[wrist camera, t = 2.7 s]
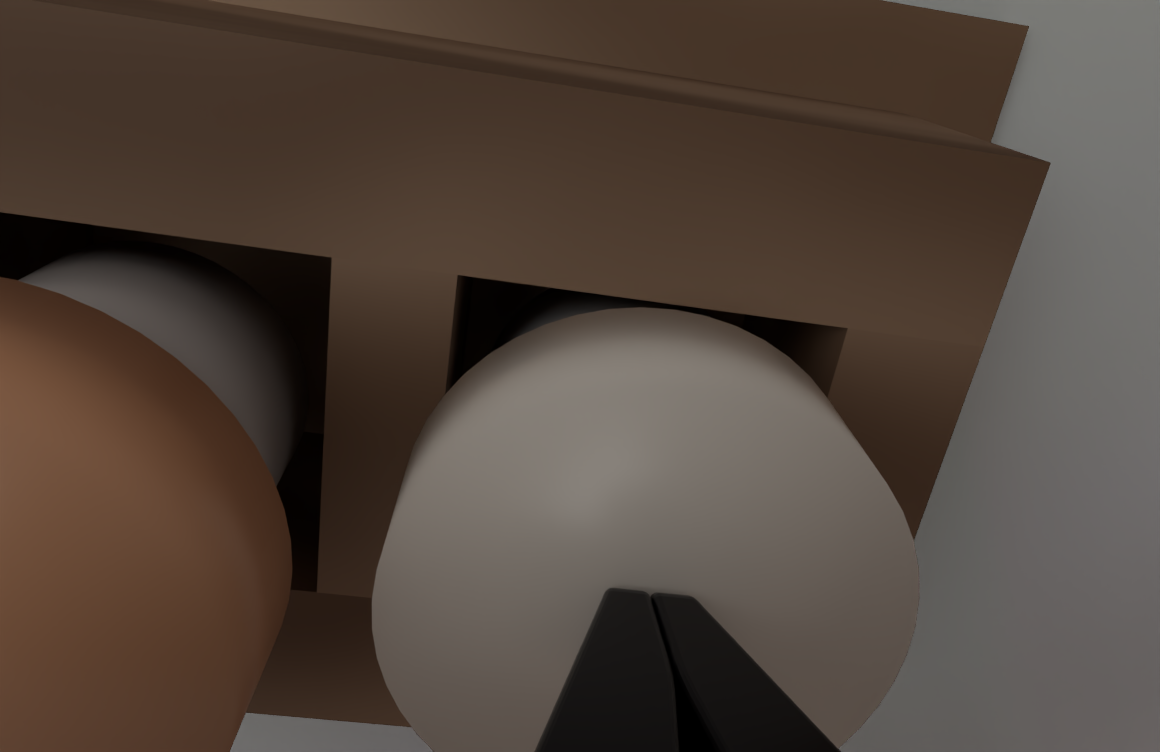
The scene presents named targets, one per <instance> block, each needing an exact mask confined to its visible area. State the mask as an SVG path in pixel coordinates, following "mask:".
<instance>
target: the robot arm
mask: <svg viewBox="0 0 1160 752" xmlns="http://www.w3.org/2000/svg"><path fill="white" fill-rule="evenodd" d="M534 752H841V751H840V750H839V749H838V748H837V747H836V746H835V745H834V744H833V743H832V742H831V741H830V740H829V739H828V737H827V736H826V735H825V734H824V733H823V732H822V731H821V730H820V729H819V728H818V727H817V726H816V725H815V724H814V723H813V722H812V721H811V720H810V718H809V717H808V716H807V715H806V714H805V713H804V712H803V711H802V710H801V709H800V708H799V707H798V706H797V705H796V704H795V703H794V702H793V701H792V699H791V698H790V697H789V696H788V695H787V694H786V693H785V692H784V691H783V690H782V689H781V688H780V687H779V686H778V685H777V684H776V683H775V682H774V681H773V679H772V678H771V677H770V676H769V675H768V674H767V673H766V672H765V671H764V670H763V669H762V668H761V667H760V666H759V665H758V664H757V663H756V662H755V660H754V659H753V658H752V657H751V656H750V655H749V654H748V653H747V652H746V651H745V650H744V649H743V648H742V647H741V646H740V645H739V644H738V643H737V641H736V640H735V639H734V638H733V637H732V636H731V635H730V634H729V633H728V632H727V631H726V630H725V629H724V628H723V627H722V626H721V625H720V624H719V622H718V621H717V620H716V619H715V618H714V617H713V616H712V615H711V614H710V613H709V612H708V611H707V610H706V609H705V608H704V607H703V606H702V605H701V603H700V602H699V601H697V600H696V599H695V598H694V597H692V596H688V595H679V594H669V593H660V592H656V593H654V594H652V595H651V596H649V594H648V593H647V592H645V591H640V590H631V589H622V588H609V589H607V590H606V591H605V593H604V595H603V597H602V599H601V602H600V604H599V606H598V608H597V611H596V613H595V615H594V618H593V620H592V622H591V624H590V627H589V629H588V631H587V633H586V636H585V638H584V640H583V643H582V645H581V647H580V649H579V652H578V654H577V656H576V658H575V661H574V663H573V665H572V667H571V670H570V672H569V674H568V677H567V679H566V681H565V683H564V686H563V688H562V690H561V692H560V695H559V697H558V699H557V701H556V704H555V706H554V708H553V711H552V713H551V715H550V717H549V720H548V722H547V724H546V726H545V729H544V731H543V733H542V735H541V738H540V740H539V742H538V745H537V747H536V749H535V751H534Z"/></svg>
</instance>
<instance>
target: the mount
mask: <svg viewBox="0 0 1160 752" xmlns="http://www.w3.org/2000/svg"><path fill="white" fill-rule="evenodd" d="M1028 28H1029V26H1025V25H1019V24H1013V23H1007V22H1002V21H996V20H990V19H985V18H979V17H973V16H967V15H962V14H956V13H950V12H945V11H939V10H933V9H927V8H922V7H916V6H910V5H905V4H899V3H893V2H887V1H882V0H0V277H3V278H8V279H14V280H19V279H21V278H23V277H25V276H27V275H29V274H30V273H32V272H34V271H36V270H38V269H40V268H41V267H43V266H45V265H47V264H49V263H51V262H52V261H54V260H56V259H58V258H60V257H62V256H64V255H66V254H68V253H70V252H72V251H75V250H78V249H81V248H84V247H87V246H90V245H95V244H100V243H106V242H113V241H144V242H154V243H159V244H165V245H170V246H174V247H178V248H181V249H184V250H187V251H190V252H193V253H196V254H198V255H200V256H203V257H205V258H207V259H209V260H211V261H214V262H216V263H217V264H219V265H221V266H222V267H224V268H226V269H228V270H229V271H231V272H233V273H234V274H235V275H237V276H238V277H239V278H241V279H242V280H243V281H245V282H246V283H247V284H249V285H250V286H251V287H252V288H253V289H254V290H256V291H257V292H258V293H259V294H260V295H261V296H262V297H263V298H264V299H265V300H266V301H267V302H268V303H269V305H270V306H271V307H272V308H273V309H274V311H275V312H276V313H277V314H278V315H279V317H280V318H281V320H282V321H283V323H284V324H285V326H286V327H287V329H288V330H289V332H290V334H291V336H292V338H293V340H294V342H295V344H296V346H297V348H298V350H299V353H300V356H301V359H302V362H303V365H304V368H305V373H306V379H307V384H308V412H307V420H306V424H305V428H304V431H303V435H302V438H301V440H300V442H299V444H298V447H297V449H296V451H295V453H294V455H293V457H292V458H291V460H290V462H289V464H288V466H287V468H286V469H285V471H284V473H283V475H282V477H281V479H280V480H279V482H278V484H277V486H276V488H277V490H278V493H279V496H280V499H281V501H282V504H283V507H284V510H285V514H286V519H287V524H288V529H289V534H290V538H291V551H292V579H291V588H290V597H289V602H288V605H287V609H286V612H285V616H284V619H283V623H282V626H281V629H280V631H279V634H278V636H277V638H276V641H275V643H274V646H273V648H272V650H271V653H270V655H269V658H268V660H267V662H266V665H265V667H264V670H263V672H262V675H261V677H260V679H259V682H258V684H257V687H256V689H255V691H254V694H253V696H252V699H251V701H250V703H249V706H248V708H247V711H246V713H257V714H268V715H280V716H291V717H303V718H314V719H325V720H337V721H348V722H360V723H371V724H382V725H394V726H405V727H411V725H410V724H409V722H408V721H407V720H406V718H405V717H404V716H403V714H402V713H401V712H400V710H399V708H398V706H397V705H396V703H395V701H394V699H393V697H392V695H391V693H390V691H389V689H388V687H387V686H386V683H385V680H384V677H383V674H382V671H381V669H380V666H379V663H378V660H377V656H376V650H375V644H374V638H373V633H372V596H373V589H374V583H375V577H376V570H377V567H378V563H379V560H380V557H381V553H382V550H383V546H384V543H385V539H386V536H387V532H388V529H389V526H390V522H391V519H392V515H393V512H394V508H395V505H396V502H397V498H398V495H399V491H400V488H401V484H402V481H403V478H404V474H405V471H406V468H407V465H408V462H409V459H410V455H411V452H412V449H413V446H414V444H415V442H416V440H417V438H418V436H419V434H420V432H421V430H422V428H423V426H424V424H425V422H426V420H427V419H428V417H429V416H430V414H431V413H432V412H433V410H434V409H435V407H436V406H437V404H438V403H439V402H440V400H441V399H442V397H443V396H444V395H445V394H446V393H447V392H448V391H449V390H450V389H451V387H452V386H453V385H454V384H455V383H456V382H457V381H458V380H459V379H460V378H461V377H462V376H463V375H464V374H465V373H466V372H467V371H468V370H470V369H471V368H472V367H473V366H475V365H476V364H477V363H478V362H480V361H481V360H482V359H483V358H484V357H486V356H487V355H488V354H490V353H491V350H492V347H493V346H494V344H495V342H496V340H497V338H498V336H499V334H500V333H501V331H502V330H503V328H504V327H505V326H506V324H507V323H508V321H509V320H510V319H511V318H512V317H513V316H514V315H515V314H516V313H517V312H518V311H519V310H520V309H521V308H522V307H523V306H524V305H525V304H527V303H528V302H529V301H530V300H532V299H533V298H534V297H536V296H538V295H539V294H541V293H542V292H544V291H546V290H547V289H549V288H557V289H565V290H572V291H579V292H586V293H594V294H601V295H608V296H616V297H623V298H630V299H638V300H645V301H652V302H659V303H667V304H674V305H681V306H689V307H696V308H703V309H704V310H705V311H706V312H707V314H708V315H709V316H710V317H711V318H714V319H717V320H720V321H723V322H726V323H729V324H731V325H734V326H737V327H739V328H741V329H743V330H745V331H747V332H749V333H751V334H753V335H755V336H757V337H759V338H761V339H763V340H765V341H766V342H768V343H769V344H771V345H772V346H774V347H775V348H777V349H778V350H780V351H781V352H782V353H784V354H785V355H787V356H788V357H790V358H791V359H792V360H793V361H794V362H795V363H796V364H797V365H798V366H799V367H800V368H801V369H803V370H804V371H805V372H806V373H807V374H808V375H809V376H810V377H811V378H812V379H813V381H814V382H815V383H816V384H817V386H818V387H819V388H820V389H821V391H822V392H823V393H824V394H825V396H826V397H827V398H828V400H829V401H830V402H831V404H832V405H833V407H834V408H835V410H836V411H837V412H838V414H839V415H840V417H841V418H842V420H843V421H844V423H845V424H846V425H847V427H848V428H849V430H850V431H851V433H852V434H853V435H854V437H855V438H856V440H857V441H858V443H859V444H860V445H861V447H862V448H863V450H864V451H865V453H866V454H867V456H868V457H869V458H870V460H871V461H872V463H873V464H874V466H875V467H876V468H877V470H878V471H879V473H880V474H881V476H882V477H883V478H884V480H885V481H886V483H887V484H888V486H889V488H890V490H891V491H892V493H893V495H894V497H895V498H896V500H897V502H898V504H899V505H900V507H901V509H902V511H903V513H904V516H905V518H906V521H907V524H908V526H909V529H910V532H911V535H912V537H913V540H914V538H915V536H916V533H917V530H918V527H919V525H920V522H921V519H922V516H923V514H924V511H925V508H926V505H927V503H928V500H929V497H930V494H931V492H932V489H933V486H934V483H935V480H936V478H937V475H938V472H939V469H940V467H941V464H942V461H943V458H944V456H945V453H946V450H947V447H948V445H949V442H950V439H951V436H952V434H953V431H954V428H955V425H956V423H957V420H958V417H959V414H960V412H961V409H962V406H963V403H964V401H965V398H966V395H967V392H968V390H969V387H970V384H971V381H972V378H973V376H974V373H975V370H976V367H977V365H978V362H979V359H980V356H981V354H982V351H983V348H984V345H985V343H986V340H987V337H988V334H989V332H990V329H991V326H992V323H993V321H994V318H995V315H996V312H997V310H998V307H999V304H1000V301H1001V299H1002V296H1003V293H1004V290H1005V287H1006V285H1007V282H1008V279H1009V276H1010V274H1011V271H1012V268H1013V265H1014V263H1015V260H1016V257H1017V254H1018V252H1019V249H1020V246H1021V243H1022V241H1023V238H1024V235H1025V232H1026V230H1027V227H1028V224H1029V221H1030V219H1031V216H1032V213H1033V210H1034V208H1035V205H1036V202H1037V199H1038V196H1039V194H1040V191H1041V188H1042V185H1043V183H1044V180H1045V177H1046V174H1047V172H1048V169H1049V166H1050V162H1047V161H1044V160H1041V159H1038V158H1035V157H1032V156H1029V155H1026V154H1023V153H1020V152H1017V151H1014V150H1011V149H1008V148H1005V147H1002V146H999V145H996V144H993V143H990V142H991V139H992V136H993V133H994V130H995V127H996V124H997V121H998V118H999V115H1000V112H1001V109H1002V106H1003V103H1004V100H1005V97H1006V94H1007V91H1008V88H1009V85H1010V82H1011V79H1012V76H1013V73H1014V70H1015V67H1016V64H1017V61H1018V58H1019V55H1020V52H1021V49H1022V46H1023V43H1024V40H1025V37H1026V34H1027V31H1028Z"/></svg>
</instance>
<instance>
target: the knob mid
mask: <svg viewBox="0 0 1160 752" xmlns="http://www.w3.org/2000/svg"><path fill="white" fill-rule="evenodd" d="M307 412H308V384H307V379H306V373H305V368H304V365H303V362H302V359H301V356H300V353H299V350H298V348H297V346H296V344H295V342H294V340H293V338H292V336H291V334H290V332H289V330H288V329H287V327H286V326H285V324H284V323H283V321H282V320H281V318H280V317H279V315H278V314H277V313H276V312H275V311H274V309H273V308H272V307H271V306H270V305H269V303H268V302H267V301H266V300H265V299H264V298H263V297H262V296H261V295H260V294H259V293H258V292H257V291H256V290H254V289H253V288H252V287H251V286H250V285H249V284H247V283H246V282H245V281H243V280H242V279H241V278H239V277H238V276H237V275H235V274H234V273H233V272H231V271H229V270H228V269H226V268H224V267H222V266H221V265H219V264H217V263H216V262H214V261H211V260H209V259H207V258H205V257H203V256H200V255H198V254H196V253H193V252H190V251H187V250H184V249H181V248H178V247H174V246H170V245H165V244H159V243H154V242H144V241H113V242H106V243H100V244H95V245H90V246H87V247H84V248H81V249H78V250H75V251H72V252H70V253H68V254H66V255H64V256H62V257H60V258H58V259H56V260H54V261H52V262H51V263H49V264H47V265H45V266H43V267H41V268H40V269H38V270H36V271H34V272H32V273H30V274H29V275H27V276H25V277H23V278H21V279H19V280H14V279H8V278H3V277H0V752H230V749H231V747H232V744H233V742H234V740H235V737H236V735H237V732H238V730H239V728H240V725H241V723H242V720H243V718H244V715H245V713H246V711H247V708H248V706H249V703H250V701H251V699H252V696H253V694H254V691H255V689H256V687H257V684H258V682H259V679H260V677H261V675H262V672H263V670H264V667H265V665H266V662H267V660H268V658H269V655H270V653H271V650H272V648H273V646H274V643H275V641H276V638H277V636H278V634H279V631H280V629H281V626H282V623H283V619H284V616H285V612H286V609H287V605H288V602H289V597H290V588H291V579H292V551H291V538H290V534H289V529H288V524H287V519H286V514H285V510H284V507H283V504H282V501H281V499H280V496H279V493H278V490H277V488H276V486H277V484H278V482H279V480H280V479H281V477H282V475H283V473H284V471H285V469H286V468H287V466H288V464H289V462H290V460H291V458H292V457H293V455H294V453H295V451H296V449H297V447H298V444H299V442H300V440H301V438H302V435H303V431H304V428H305V424H306V420H307Z"/></svg>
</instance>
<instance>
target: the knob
mask: <svg viewBox="0 0 1160 752" xmlns="http://www.w3.org/2000/svg"><path fill="white" fill-rule="evenodd" d="M609 588H622V589H631V590H640V591H645V592H647V593H648V594H649V596H651V595H652V594H654V593H656V592H660V593H669V594H679V595H688V596H692V597H694V598H695V599H696V600H697V601H699V602H700V603H701V605H702V606H703V607H704V608H705V609H706V610H707V611H708V612H709V613H710V614H711V615H712V616H713V617H714V618H715V619H716V620H717V621H718V622H719V624H720V625H721V626H722V627H723V628H724V629H725V630H726V631H727V632H728V633H729V634H730V635H731V636H732V637H733V638H734V639H735V640H736V641H737V643H738V644H739V645H740V646H741V647H742V648H743V649H744V650H745V651H746V652H747V653H748V654H749V655H750V656H751V657H752V658H753V659H754V660H755V662H756V663H757V664H758V665H759V666H760V667H761V668H762V669H763V670H764V671H765V672H766V673H767V674H768V675H769V676H770V677H771V678H772V679H773V681H774V682H775V683H776V684H777V685H778V686H779V687H780V688H781V689H782V690H783V691H784V692H785V693H786V694H787V695H788V696H789V697H790V698H791V699H792V701H793V702H794V703H795V704H796V705H797V706H798V707H799V708H800V709H801V710H802V711H803V712H804V713H805V714H806V715H807V716H808V717H809V718H810V720H811V721H812V722H813V723H814V724H815V725H816V726H817V727H818V728H819V729H820V730H821V731H822V732H823V733H824V734H825V735H826V736H827V737H828V739H829V740H830V741H831V742H832V743H833V744H834V745H835V746H836V747H837V748H839V747H840V746H841V745H842V744H844V743H845V742H846V741H847V740H848V739H849V738H850V737H851V736H852V735H853V734H854V733H855V732H856V731H857V730H858V729H859V728H860V727H861V726H862V725H863V724H864V723H865V721H866V720H867V719H868V718H869V717H870V715H871V714H872V713H873V712H874V711H875V709H876V708H877V707H878V706H879V704H880V703H881V701H882V700H883V698H884V697H885V695H886V693H887V692H888V690H889V689H890V687H891V686H892V684H893V683H894V681H895V679H896V677H897V675H898V673H899V670H900V668H901V666H902V664H903V662H904V660H905V658H906V655H907V653H908V649H909V646H910V643H911V639H912V636H913V633H914V629H915V626H916V619H917V611H918V604H919V567H918V562H917V556H916V551H915V546H914V540H913V537H912V535H911V532H910V529H909V526H908V524H907V521H906V518H905V516H904V513H903V511H902V509H901V507H900V505H899V504H898V502H897V500H896V498H895V497H894V495H893V493H892V491H891V490H890V488H889V486H888V484H887V483H886V481H885V480H884V478H883V477H882V476H881V474H880V473H879V471H878V470H877V468H876V467H875V466H874V464H873V463H872V461H871V460H870V458H869V457H868V456H867V454H866V453H865V451H864V450H863V448H862V447H861V445H860V444H859V443H858V441H857V440H856V438H855V437H854V435H853V434H852V433H851V431H850V430H849V428H848V427H847V425H846V424H845V423H844V421H843V420H842V418H841V417H840V415H839V414H838V412H837V411H836V410H835V408H834V407H833V405H832V404H831V402H830V401H829V400H828V398H827V397H826V396H825V394H824V393H823V392H822V391H821V389H820V388H819V387H818V386H817V384H816V383H815V382H814V381H813V379H812V378H811V377H810V376H809V375H808V374H807V373H806V372H805V371H804V370H803V369H801V368H800V367H799V366H798V365H797V364H796V363H795V362H794V361H793V360H792V359H791V358H790V357H788V356H787V355H785V354H784V353H782V352H781V351H780V350H778V349H777V348H775V347H774V346H772V345H771V344H769V343H768V342H766V341H765V340H763V339H761V338H759V337H757V336H755V335H753V334H751V333H749V332H747V331H745V330H743V329H741V328H739V327H737V326H734V325H731V324H729V323H726V322H723V321H720V320H717V319H714V318H711V317H710V316H709V315H708V314H707V312H706V311H705V310H704V309H703V308H696V307H689V306H681V305H674V304H667V303H659V302H652V301H645V300H638V299H630V298H623V297H616V296H608V295H601V294H594V293H586V292H579V291H572V290H565V289H557V288H549V289H547V290H546V291H544V292H542V293H541V294H539V295H538V296H536V297H534V298H533V299H532V300H530V301H529V302H528V303H527V304H525V305H524V306H523V307H522V308H521V309H520V310H519V311H518V312H517V313H516V314H515V315H514V316H513V317H512V318H511V319H510V320H509V321H508V323H507V324H506V326H505V327H504V328H503V330H502V331H501V333H500V334H499V336H498V338H497V340H496V342H495V344H494V346H493V347H492V350H491V353H490V354H488V355H487V356H486V357H484V358H483V359H482V360H481V361H480V362H478V363H477V364H476V365H475V366H473V367H472V368H471V369H470V370H468V371H467V372H466V373H465V374H464V375H463V376H462V377H461V378H460V379H459V380H458V381H457V382H456V383H455V384H454V385H453V386H452V387H451V389H450V390H449V391H448V392H447V393H446V394H445V395H444V396H443V397H442V399H441V400H440V402H439V403H438V404H437V406H436V407H435V409H434V410H433V412H432V413H431V414H430V416H429V417H428V419H427V420H426V422H425V424H424V426H423V428H422V430H421V432H420V434H419V436H418V438H417V440H416V442H415V444H414V446H413V449H412V452H411V455H410V459H409V462H408V465H407V468H406V471H405V474H404V478H403V481H402V484H401V488H400V491H399V495H398V498H397V502H396V505H395V508H394V512H393V515H392V519H391V522H390V526H389V529H388V532H387V536H386V539H385V543H384V546H383V550H382V553H381V557H380V560H379V563H378V567H377V570H376V577H375V583H374V589H373V596H372V633H373V638H374V644H375V650H376V656H377V660H378V663H379V666H380V669H381V671H382V674H383V677H384V680H385V683H386V686H387V687H388V689H389V691H390V693H391V695H392V697H393V699H394V701H395V703H396V705H397V706H398V708H399V710H400V712H401V713H402V714H403V716H404V717H405V718H406V720H407V721H408V722H409V724H410V725H411V727H412V728H413V729H414V731H415V732H416V733H417V734H418V735H419V736H420V737H421V739H422V740H423V741H424V742H425V743H426V744H427V745H428V746H429V747H430V748H431V749H432V750H433V751H434V752H534V751H535V749H536V747H537V745H538V742H539V740H540V738H541V735H542V733H543V731H544V729H545V726H546V724H547V722H548V720H549V717H550V715H551V713H552V711H553V708H554V706H555V704H556V701H557V699H558V697H559V695H560V692H561V690H562V688H563V686H564V683H565V681H566V679H567V677H568V674H569V672H570V670H571V667H572V665H573V663H574V661H575V658H576V656H577V654H578V652H579V649H580V647H581V645H582V643H583V640H584V638H585V636H586V633H587V631H588V629H589V627H590V624H591V622H592V620H593V618H594V615H595V613H596V611H597V608H598V606H599V604H600V602H601V599H602V597H603V595H604V593H605V591H606V590H607V589H609Z"/></svg>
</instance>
